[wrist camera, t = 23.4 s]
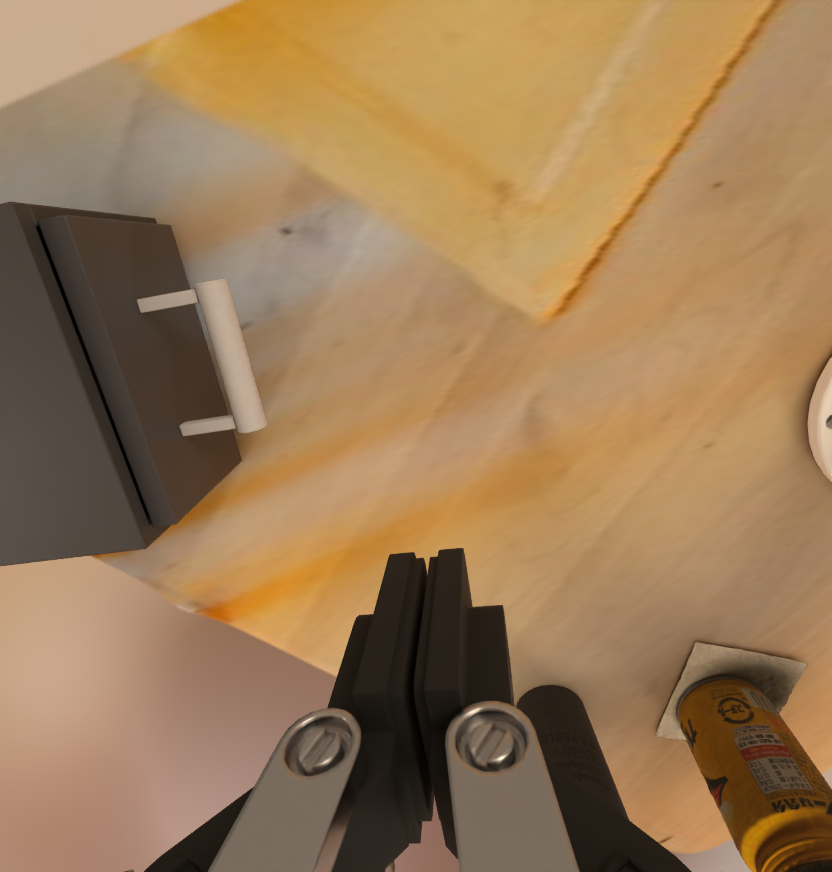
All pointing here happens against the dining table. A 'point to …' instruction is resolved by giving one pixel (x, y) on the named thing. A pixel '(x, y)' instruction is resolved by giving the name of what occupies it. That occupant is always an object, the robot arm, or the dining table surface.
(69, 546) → the cabinet
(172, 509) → the drawer
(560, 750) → the drinking cup
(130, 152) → the dining table surface
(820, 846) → the condiment
